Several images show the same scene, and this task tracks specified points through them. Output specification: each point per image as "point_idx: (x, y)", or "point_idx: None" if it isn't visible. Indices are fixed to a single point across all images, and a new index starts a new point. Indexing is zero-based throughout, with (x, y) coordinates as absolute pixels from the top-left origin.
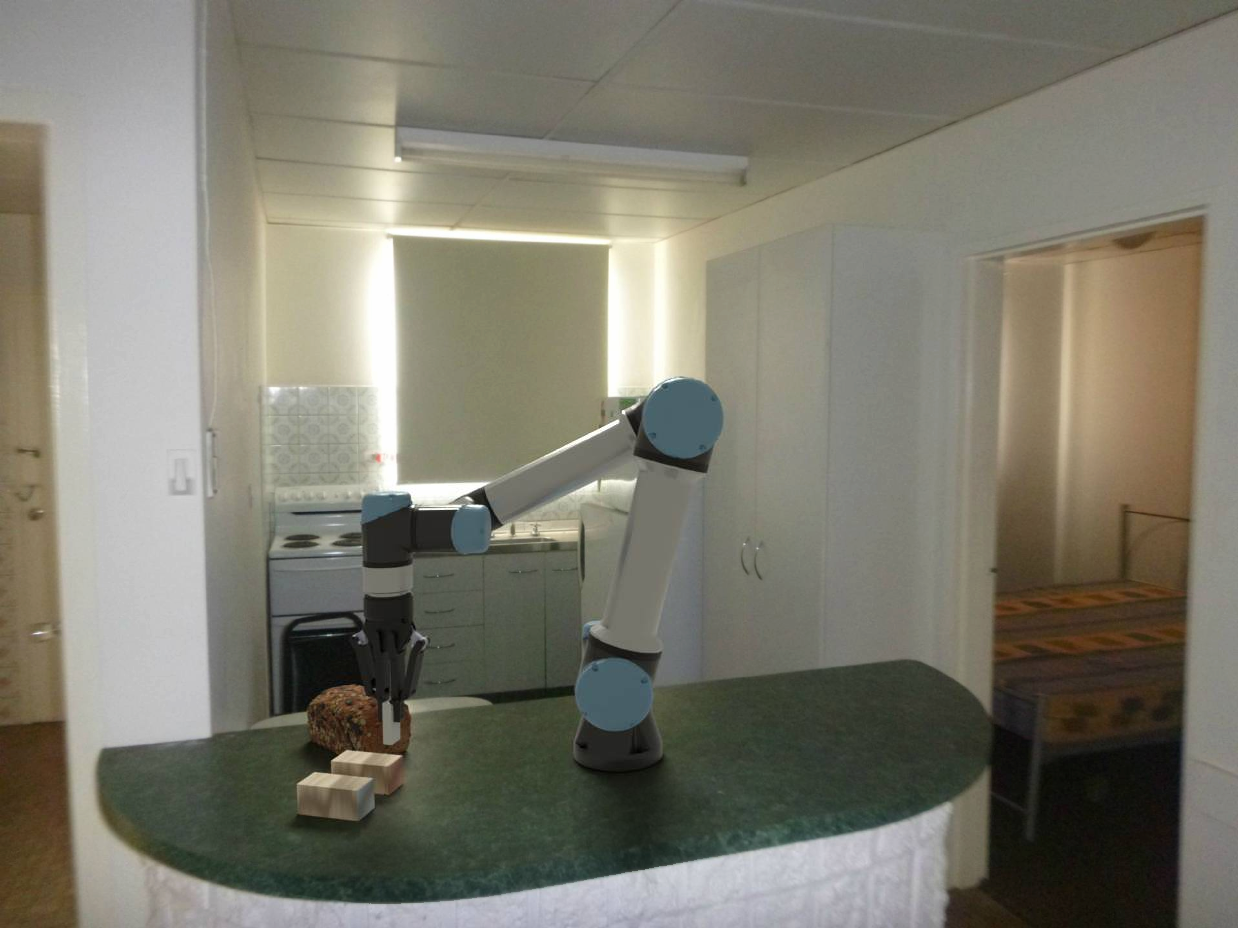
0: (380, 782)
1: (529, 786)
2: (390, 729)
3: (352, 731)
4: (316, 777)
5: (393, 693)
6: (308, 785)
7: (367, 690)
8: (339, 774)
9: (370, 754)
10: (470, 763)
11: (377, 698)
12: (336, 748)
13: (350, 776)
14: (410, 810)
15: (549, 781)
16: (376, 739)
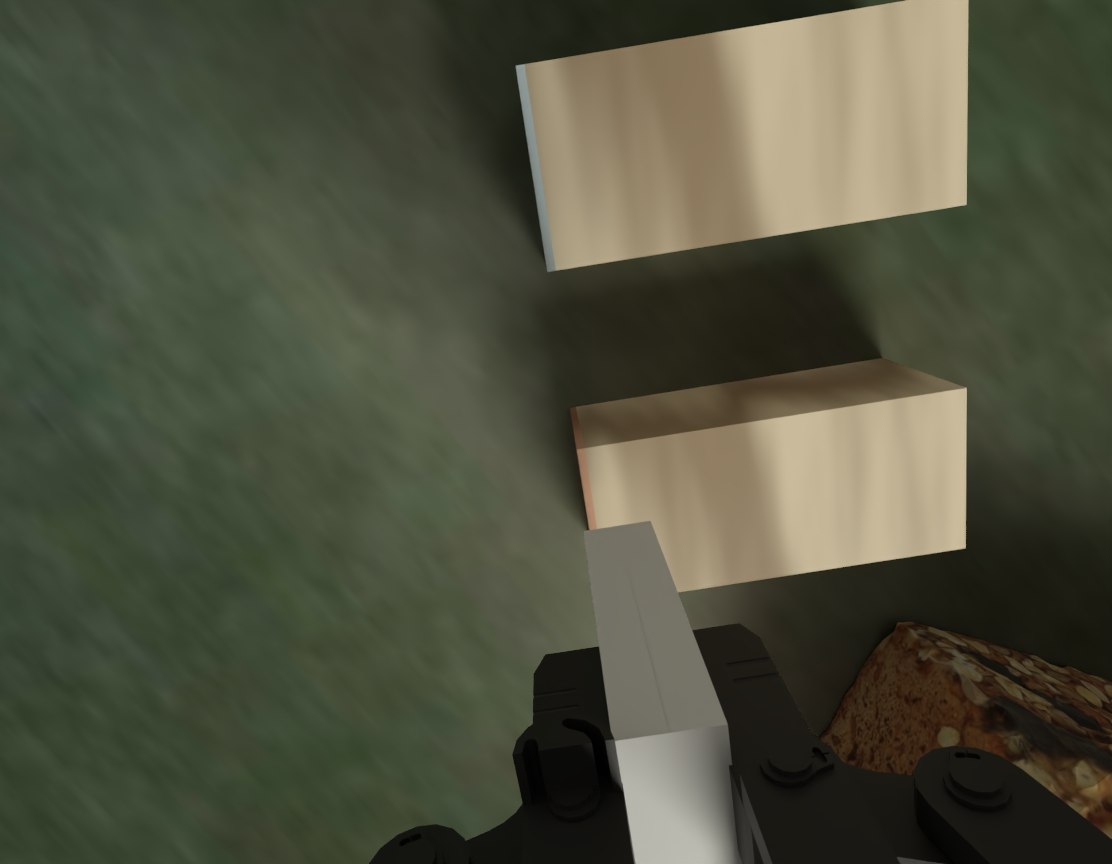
0: (621, 413)
1: (47, 705)
2: (602, 584)
3: (1062, 725)
4: (903, 138)
5: (591, 859)
6: (878, 7)
7: (1019, 811)
8: (872, 380)
9: (791, 550)
10: (439, 798)
11: (812, 753)
12: (1109, 687)
13: (702, 237)
14: (361, 304)
15: (6, 772)
16: (904, 746)
